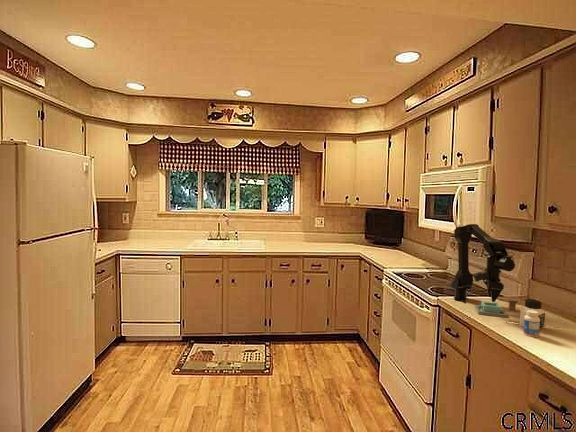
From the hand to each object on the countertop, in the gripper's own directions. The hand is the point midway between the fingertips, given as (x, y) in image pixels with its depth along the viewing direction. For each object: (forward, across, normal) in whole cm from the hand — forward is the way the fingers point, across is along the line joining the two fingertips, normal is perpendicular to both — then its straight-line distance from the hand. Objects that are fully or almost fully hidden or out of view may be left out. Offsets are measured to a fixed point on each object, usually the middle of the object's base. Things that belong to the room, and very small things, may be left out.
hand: (491, 299), depth 179 cm
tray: (+7, 0, 0) cm, 7 cm away
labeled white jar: (+7, +13, +14) cm, 20 cm away
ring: (+6, 0, 0) cm, 7 cm away
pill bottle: (+7, +24, +11) cm, 27 cm away
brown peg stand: (+7, -9, +11) cm, 16 cm away
